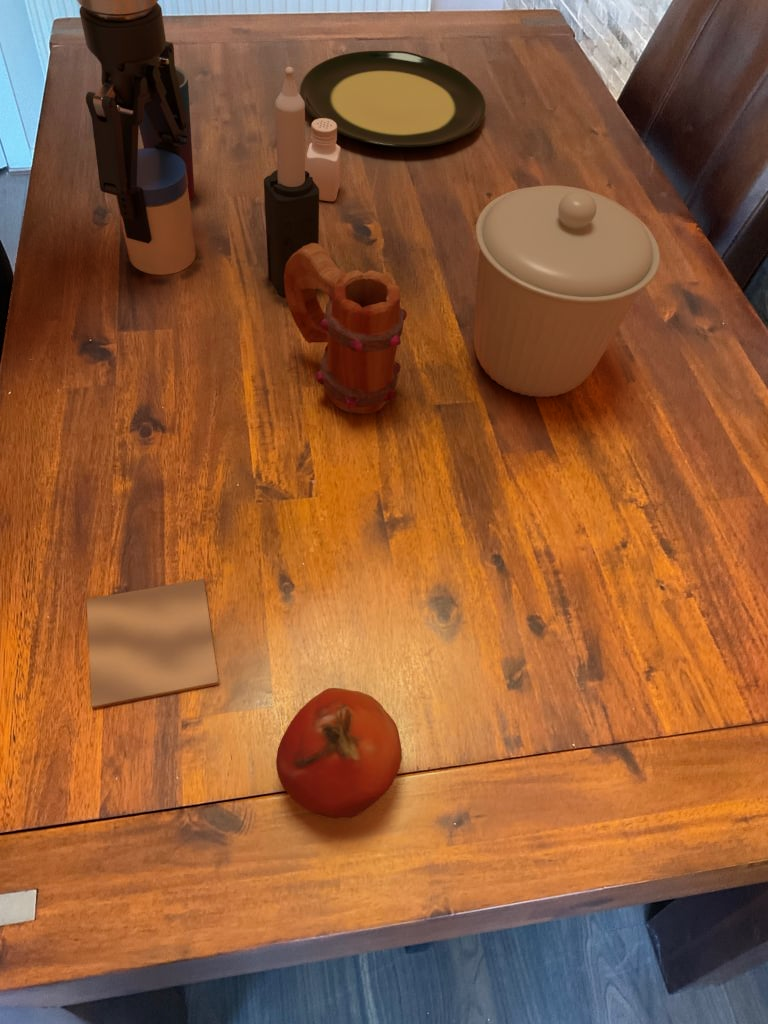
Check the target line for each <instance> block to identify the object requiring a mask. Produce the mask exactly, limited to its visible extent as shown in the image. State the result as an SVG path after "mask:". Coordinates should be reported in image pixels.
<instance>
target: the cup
mask: <svg viewBox="0 0 768 1024" xmlns="http://www.w3.org/2000/svg"><path fill="white" fill-rule="evenodd" d="M175 69H176V73H177V77H178V82H179V86H180V90H181V95H182V99H183V104H184V108H185V112H186V117H187V121H188V128H187V130H186V131H183V130H182V131H181V134H182V135H186V136H188V142H187V145H186V146H184V145H180V144H179V149H180V156H181V159H182V160H183V161H184V163H185V165H186V171H187V179H188V193H189V201H190V202H191V201H192V200H193V199H194V197H195V181H194V180H195V179H194V163H193V161H194V160H193V144H192V127H191V126H192V125H191V112H190V111H191V108H190V92H189V91H190V89H189V77H188V74H187V72H186V71H185V70H184V69H182V68H181V67H179V66H177V65H175ZM173 117H177V115H174V114H173ZM139 133H140V137H141V141H142V145H143V149H144V148H154V149H155V146H154V145H155V144H156V142H161V143H162V140H160V139H158V137H157V135H156V133H155V131H154V129H153V127H152V125H151V123H150V121H149V119H148V117H147V115H146V113H145V110H144V116H143V122H142V123H140V124H139Z"/></svg>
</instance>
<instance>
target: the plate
mask: <svg viewBox="0 0 768 1024" xmlns="http://www.w3.org/2000/svg"><path fill="white" fill-rule="evenodd" d="M299 94H300V96H301V97H302V99H303V100H304V103H305V111H307V112H308V114H310V116H312V117H313V118H314V120H316V119H319V118H327V119H331V120H333V121H334V122H336V124H337V134H339V135H342V136H345V137H347V138H350V139H353V140H355V141H358V142H363V143H366V144H371V145H377V146H383V147H390V148H391V147H392V148H425V147H427V148H428V147H434V146H440V145H443V144H448V143H450V142H453V141H456V140H458V139H461V138H463V137H465V136H467V135H469V134H471V133H473V132H474V131H475V130H477V129H478V128H479V127H480V125H481V123H482V122H483V119H484V117H485V114H486V110H487V109H486V107H487V106H486V99H485V96H484V95H483V93H482V91H481V90H480V89H479V88H478V86H477V85H476V84H475V83H474V82H473V81H472V80H470V78H469V77H468V76H467V75H465V74H464V73H463V72H461V71H460V70H458V69H456V68H454V67H452V66H450V65H449V64H446V63H444V62H442V61H439V60H436V59H433V58H430V57H427V56H424V55H421V54H418V53H414V52H410V51H404V50H363V51H355V52H348V53H343V54H340V55H337V56H334V57H330V58H328V59H326V60H324V61H322V62H320V63H318V64H316V65H315V66H314V67H312V68H311V69H310V70H309V71H307V73H306V74H305V75H304V77H303V79H302V81H301V83H300V87H299Z"/></svg>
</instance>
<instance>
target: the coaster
mask: <svg viewBox="0 0 768 1024" xmlns="http://www.w3.org/2000/svg"><path fill="white" fill-rule="evenodd" d="M85 602H86V618H87V619H86V620H87V623H86V624H87V642H88V644H87V645H88V662H89V663H88V666H89V685H90V706H91V708H92V710H95V709H100V708H104V707H105V708H106V707H110V706H115V705H119V704H125V703H130V702H135V701H141V700H145V699H150V698H155V697H161V696H165V695H171V694H177V693H181V692H186V691H191V690H192V691H193V690H197V689H203V688H206V687H213V686H217V685H219V684H220V680H219V672H218V666H217V658H216V652H215V646H214V645H215V644H214V638H213V630H212V623H211V617H210V609H209V604H208V596H207V590H206V582H205V579H204V578H202V579H201V578H200V579H195V580H189V581H184V582H178V583H171V584H165V585H160V586H155V587H149V588H143V589H137V590H130V591H125V592H119V593H113V594H106V595H101V596H95V597H89V598H86V601H85Z"/></svg>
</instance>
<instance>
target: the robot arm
mask: <svg viewBox="0 0 768 1024" xmlns="http://www.w3.org/2000/svg"><path fill="white" fill-rule="evenodd" d="M76 1H77V3H78V4H79V6H80V8H79V17H80V20H81V21H80V22H81V27H82V31H83V34H84V40H85V44H86V47H87V49H88V51H89V52H90V53H91V54H92V55H93V56H94V57H95V58H96V59H97V60H98V61H99V63H100V64H101V65H100V66H101V79H100V80H101V81H100V82H101V87H100V89H99V90H98V91H97V92H93V91H88V92H87V93H86V94H85V103H86V105H87V108H88V111H89V114H90V117H91V123H92V124H91V125H92V131H93V141H94V148H95V157H96V158H95V159H96V166H97V174H98V181H99V189H100V191H101V192H102V193H105V194H109V195H113V196H115V197H116V196H117V199H116V201H117V200H118V204H117V206H118V205H119V209H120V213H119V215H120V214H121V216H122V218H123V222H124V227H125V232H126V236H127V238H129V239H133V240H137V241H141V242H144V243H148V244H149V243H150V241H151V240H152V239H151V233H150V228H149V223H148V217H147V212H146V207H145V201H144V196H143V191H142V188H141V187H137V160H138V149H139V131H140V129H139V124H140V123H142V122H143V116H144V110H145V113H146V115H147V117H148V119H149V121H150V123H151V125H152V127H153V129H154V131H155V133H156V135H157V137H158V139H160V140H162V143H161V142H156V144H155V145H154V146H155V149H162V150H166V151H169V152H172V153H174V154H176V155H177V156H179V157H180V158H181V156H180V149H179V144H180V145H184V146H186V145H187V142H188V136H186V135H182V134H181V131H182V130H183V131H186V130H187V128H188V121H187V117H186V112H185V108H184V104H183V99H182V95H181V90H180V86H179V82H178V77H177V73H176V69H175V66H176V65H175V62H176V61H175V48H174V44H173V42H170V41H167V39H166V38H167V37H166V31H165V24H164V23H165V22H164V17H163V10H162V7H161V5H160V4H159V3H158V2H159V0H76ZM121 109H124V110H128V111H131V113H130V112H128V111H123V110H121ZM173 114H174V115H177V117H173ZM126 179H127V180H126ZM119 209H118V210H119Z"/></svg>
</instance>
